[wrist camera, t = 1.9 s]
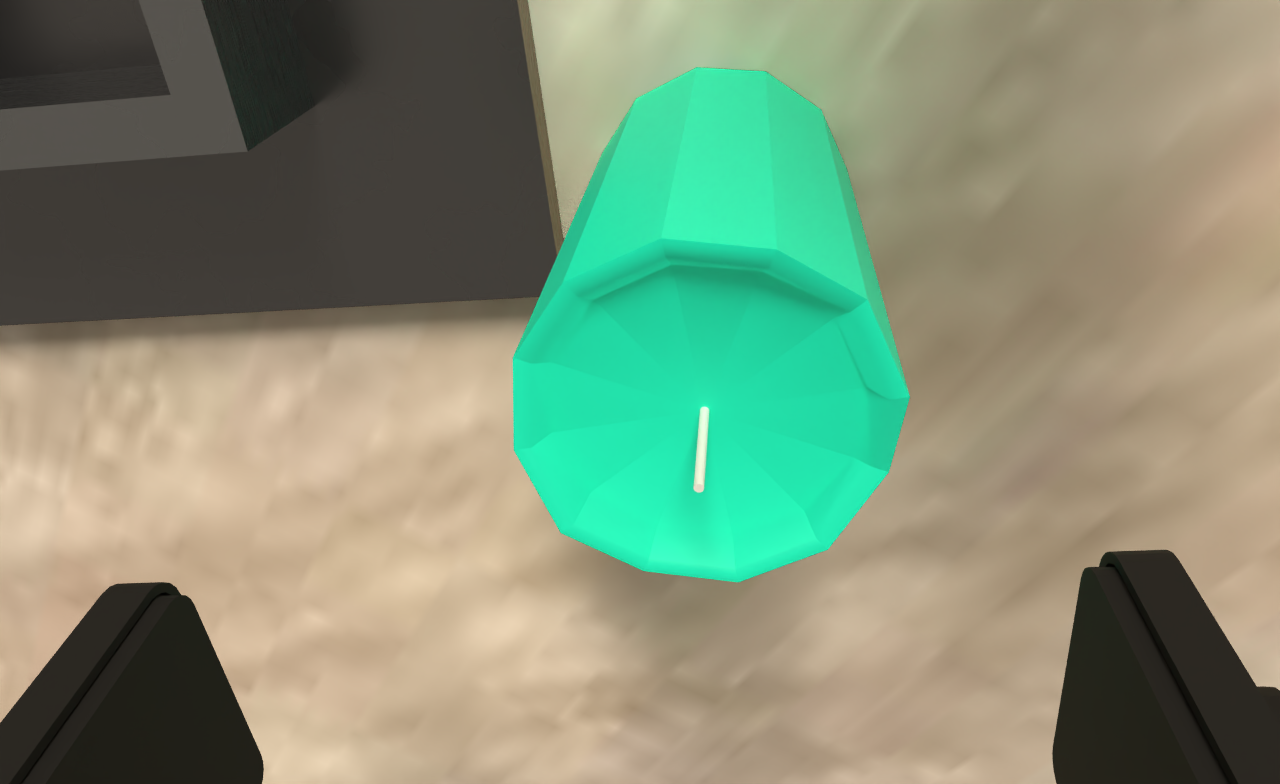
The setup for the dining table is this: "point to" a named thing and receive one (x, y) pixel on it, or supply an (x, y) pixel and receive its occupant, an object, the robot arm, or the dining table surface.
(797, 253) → the candle
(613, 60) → the dining table surface
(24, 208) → the socket holder
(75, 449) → the dining table surface
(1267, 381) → the dining table surface
